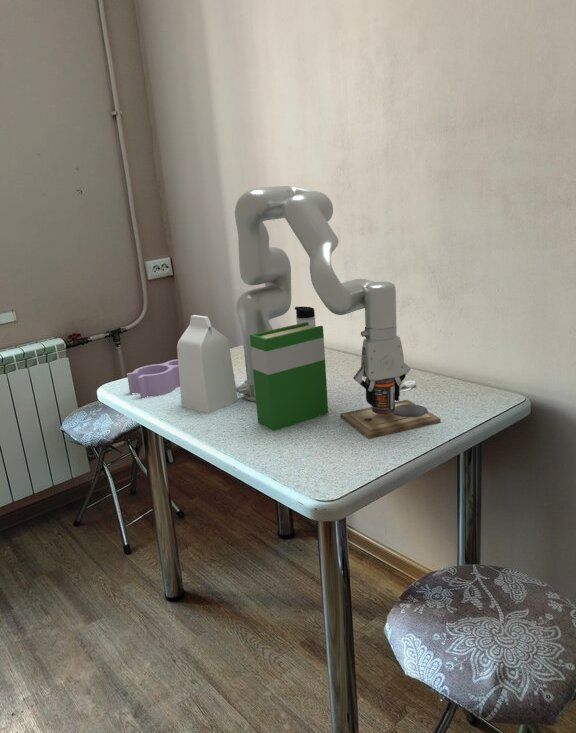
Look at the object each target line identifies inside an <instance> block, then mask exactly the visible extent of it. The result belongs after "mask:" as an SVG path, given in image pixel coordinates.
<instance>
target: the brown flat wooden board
mask: <svg viewBox="0 0 576 733" xmlns="http://www.w3.org/2000/svg"><path fill="white" fill-rule="evenodd" d="M340 418H341V419H343V420H344V422H346V423H347V424H349V425H351V427H353V428H354V429H356V430H357V431H358V432H360V433H361V434H362V435H364V437H366V438H368V439H372V438H376V437H377V438H378V437H381V436H386V435H390V434H395V433H400V432H403V431H408V430H412V429H416V428H421V427H425V426H430V425H434V424H438V423H439V424H440V423H441V421H442V420H441V419H442V418H441V417H438V416H437V415H435V414H434V413H432V412H430V411H428V409H427V407H425V406H424V405H420V404H416V403H415V402H412V401H410V400H409V399H403V400H399V401H395V410H394V412H392V413H389V414H377V413H374V412H373V411H372V407H365V408H361V409H356V410H350V411H346V412H342V413H340Z"/></svg>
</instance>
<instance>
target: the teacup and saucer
mask: <svg viewBox="0 0 576 733" xmlns="http://www.w3.org/2000/svg"><path fill="white" fill-rule="evenodd" d="M416 385H417V382H416V381H415V380H406V381H404V380H403V381H402V384H401V385H400V393H403V392H404V393H405V392H407V391H410V390H412V389H413V388H414V387H415V386H416ZM403 387H404V388H405V389H403ZM401 389H403V390H401Z"/></svg>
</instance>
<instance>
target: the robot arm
mask: <svg viewBox="0 0 576 733" xmlns="http://www.w3.org/2000/svg"><path fill="white" fill-rule="evenodd" d="M333 214H334V206H333V202H332V200H331V199H330V198H329V197H328V195H326V194H325V193H323V192H321V191H317V190H312V189H307V188H301V187H297V186H291V185H281V186H279V185H278V186H266V187H257V188H253V189H249V190H247V191H246V192H244V193H242V195H240V197H239V198H238V199H237V201H236V204H235V208H234V219H235V224H236V230H237V236H238V237H237V238H238V240H237V241H238V261H239V262H238V266H239V273H240V278H241V281H243V282H244V284H246V285H248V286H258V285H263V284H264V286H261V287H258V288H253V289H251V290H247V291H246V292H243V293H242V294H241V295H240V296H239V297H238V299H237V300H236V304H235V308H236V309H235V310H236V315H237V318H238V321H239V325H240V329H241V337H242V344H243V354H244V364H245V373H246V374H245V375H246V379H245V380H243V381H244V383H242V384H241V385H236V391H237V394H239V395H241V394H242V395H243V398H244V399H245V400H248V401H251V402H256V395H255V385H254V375H253V364H252V354H251V344H250V335H252V334H256V333H260V332H265V331H269V330H274V328H273V327H272V325H271V323H270V322H269V321H270V320H273V319H276V318H278V317H281V316H284V315H285V314H286V313H288V311H289V310H290V309H291V305H292V266H291V262H290V259H289V256H288V254H287V253H286V251H284V250H283V249H282V248H281V247H274V246H273V247H272V246H270V235H269V232H268V229H267V226H266V225H265V224H264V222H266V221H271V220H273V221H274V220H279V219H285V221H286V222H287V224H288V226H289V227H290V228H291V230H292V232H293V233H294V235H295V236H296V238H297V240H298V241H299V243H300V244H301V246H302V247H303V249H304V251H305V253H306V254H307V256H308V257H309V274H310V281H311V283H312V284H311V285H312V286H313V289H314V291H315V292H316V294H317V296H318V297H319V299H320V300H321V302H322V304H323V305H324V306H325V308H327V310H328V311H329V312H331V313H332V314H335V315H336V316H344V315H348V314H350V313H353V312H357V311H359V310H362V309H364V320H365V321H364V324H365V327H364V330H361V332H360V336H361V337H364V339H363V341H362V347H361V358H360V360H361V361H360V368H359V369H358V370H357V372H355V374H354V376H353V380H355V382H357V383H358V384H359V385H360V386H362V387H363V389H365V401H366V402H367V404H369V405H370V406H371V405H372V406H375V391H374V390H373V387H374V384H375V381H379V380H385V379H390V378H394V384H395V402H398V401H400V396H401V392H400V391H401V389H400V385H401V384H402V381H403V382H404V380H405V378H406V376H407V375H408V374H409V372H410V371H411V367H410V366H409V365H408V364H406V362H405V359H404V351H403V345H402V344H403V343H402V341H401V337H400V336H399V335H397V334H398V333H397V330H398V328H397V290H396V286H395V284H394V283H392V282H390V281H375V280H369V279H366V278H355V279H351V280H348V281H345V282H341V280H340V279H339V278H338V276H337V275H336V272H335V271H334V269H333V266H332V261H331V260H332V259H331V258H332V254H333V253H334V251H335V250H336V249H337V247H338V246H339V238H338V236H337V235H336V233H335V232H334V230H333V228H332V227H331V226H330V224H329V221H330V220H331V219H332V217H333ZM363 377H365V380H364V379H363Z"/></svg>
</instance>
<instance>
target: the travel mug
mask: <svg viewBox="0 0 576 733" xmlns="http://www.w3.org/2000/svg"><path fill="white" fill-rule="evenodd" d="M294 310H295V311H296V313H295V314H296V316H295V317H296V318H295V319H296V324H300V323H305V322H308V324H309V326H311V327H317V326H316V314H315V313H316V312H315V308H314V307H311V306H294Z"/></svg>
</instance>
